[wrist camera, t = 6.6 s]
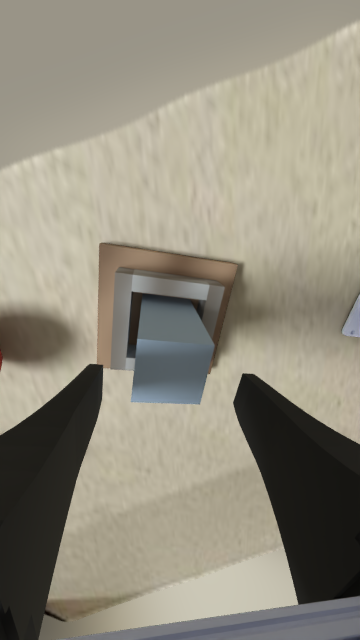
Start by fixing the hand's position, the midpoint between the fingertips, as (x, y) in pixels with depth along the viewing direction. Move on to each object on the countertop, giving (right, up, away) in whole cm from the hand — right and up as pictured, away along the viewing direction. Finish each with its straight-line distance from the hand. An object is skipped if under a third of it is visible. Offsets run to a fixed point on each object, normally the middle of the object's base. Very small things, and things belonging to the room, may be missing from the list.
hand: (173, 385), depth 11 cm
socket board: (-1, +4, +9) cm, 10 cm away
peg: (-1, +4, +8) cm, 9 cm away
